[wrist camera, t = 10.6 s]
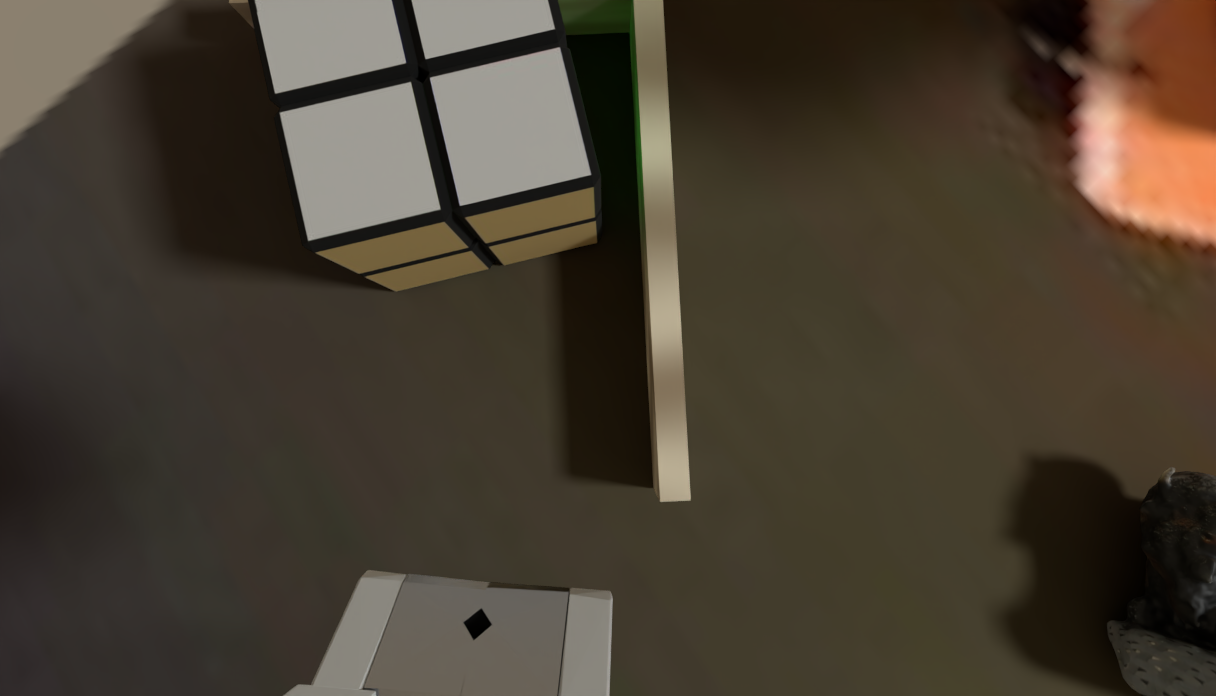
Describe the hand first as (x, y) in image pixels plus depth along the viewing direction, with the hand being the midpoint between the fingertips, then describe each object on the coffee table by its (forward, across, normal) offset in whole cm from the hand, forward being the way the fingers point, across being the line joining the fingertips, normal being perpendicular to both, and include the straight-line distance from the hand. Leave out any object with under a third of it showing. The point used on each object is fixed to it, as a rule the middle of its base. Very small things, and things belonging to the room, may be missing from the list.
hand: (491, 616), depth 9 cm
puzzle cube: (+28, +6, +2) cm, 28 cm away
